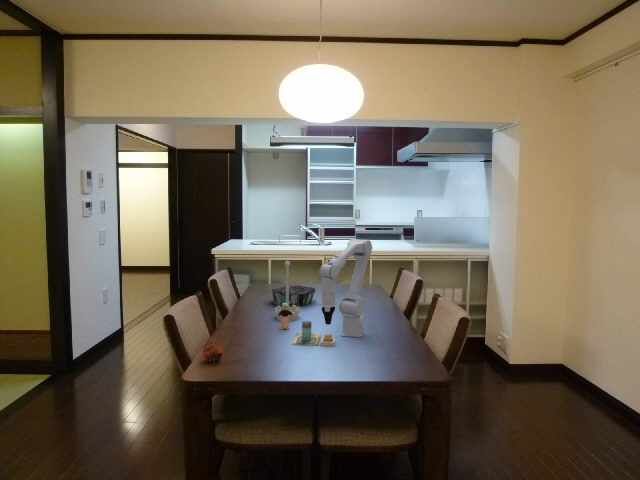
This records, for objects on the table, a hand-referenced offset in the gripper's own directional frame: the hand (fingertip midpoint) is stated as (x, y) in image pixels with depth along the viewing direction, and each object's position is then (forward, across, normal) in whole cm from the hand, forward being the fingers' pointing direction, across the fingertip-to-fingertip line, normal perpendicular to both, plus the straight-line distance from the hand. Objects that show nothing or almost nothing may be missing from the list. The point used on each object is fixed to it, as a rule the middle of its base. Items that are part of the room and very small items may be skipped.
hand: (328, 324), depth 184 cm
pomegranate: (+9, +25, -42) cm, 50 cm away
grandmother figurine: (+9, -19, -22) cm, 30 cm away
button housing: (+9, 0, 0) cm, 9 cm away
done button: (+7, 0, 0) cm, 7 cm away
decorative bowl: (+9, -70, -25) cm, 75 cm away
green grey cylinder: (+8, -1, -10) cm, 12 cm away
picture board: (+9, -4, -10) cm, 13 cm away
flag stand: (+9, -38, -24) cm, 46 cm away
